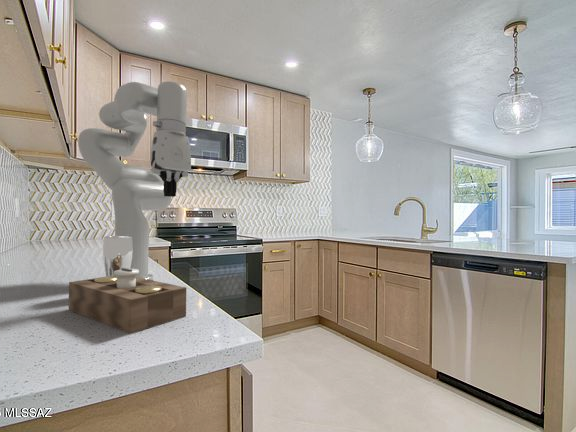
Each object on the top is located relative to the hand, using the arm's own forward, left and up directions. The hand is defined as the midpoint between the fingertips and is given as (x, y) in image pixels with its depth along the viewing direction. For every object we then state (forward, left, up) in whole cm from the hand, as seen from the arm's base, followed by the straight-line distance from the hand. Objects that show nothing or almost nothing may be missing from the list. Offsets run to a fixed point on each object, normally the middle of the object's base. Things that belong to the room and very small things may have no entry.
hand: (169, 196), depth 89 cm
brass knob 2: (+18, -18, -26) cm, 36 cm away
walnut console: (+10, -18, -26) cm, 33 cm away
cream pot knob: (+10, -18, -23) cm, 31 cm away
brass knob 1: (+2, -18, -26) cm, 31 cm away
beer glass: (-8, -10, -26) cm, 29 cm away
